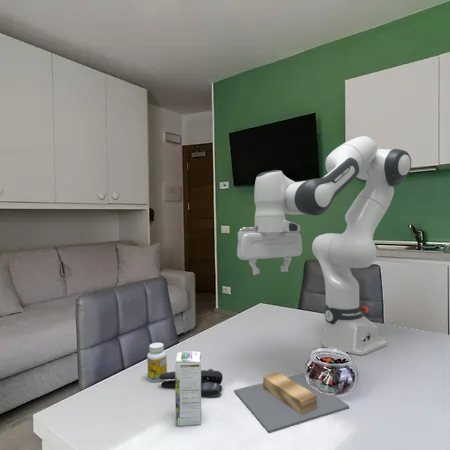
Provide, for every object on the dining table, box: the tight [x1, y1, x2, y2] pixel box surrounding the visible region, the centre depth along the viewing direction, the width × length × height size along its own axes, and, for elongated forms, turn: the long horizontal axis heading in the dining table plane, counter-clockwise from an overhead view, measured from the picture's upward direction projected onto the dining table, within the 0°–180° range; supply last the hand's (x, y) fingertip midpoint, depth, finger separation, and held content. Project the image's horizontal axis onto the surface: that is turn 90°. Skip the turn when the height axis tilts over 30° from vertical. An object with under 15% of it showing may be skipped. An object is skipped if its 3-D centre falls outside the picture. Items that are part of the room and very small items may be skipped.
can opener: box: [159, 368, 224, 398], centre depth 89 cm, size 18×7×6 cm, turn 77°
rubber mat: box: [233, 372, 350, 434], centre depth 83 cm, size 22×18×1 cm
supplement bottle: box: [146, 342, 168, 383], centre depth 96 cm, size 5×5×10 cm
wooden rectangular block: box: [262, 371, 317, 415], centre depth 83 cm, size 14×5×3 cm, turn 32°
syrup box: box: [174, 350, 202, 427], centre depth 76 cm, size 6×6×14 cm
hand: (270, 273), depth 98 cm, fingers open, 8 cm apart
